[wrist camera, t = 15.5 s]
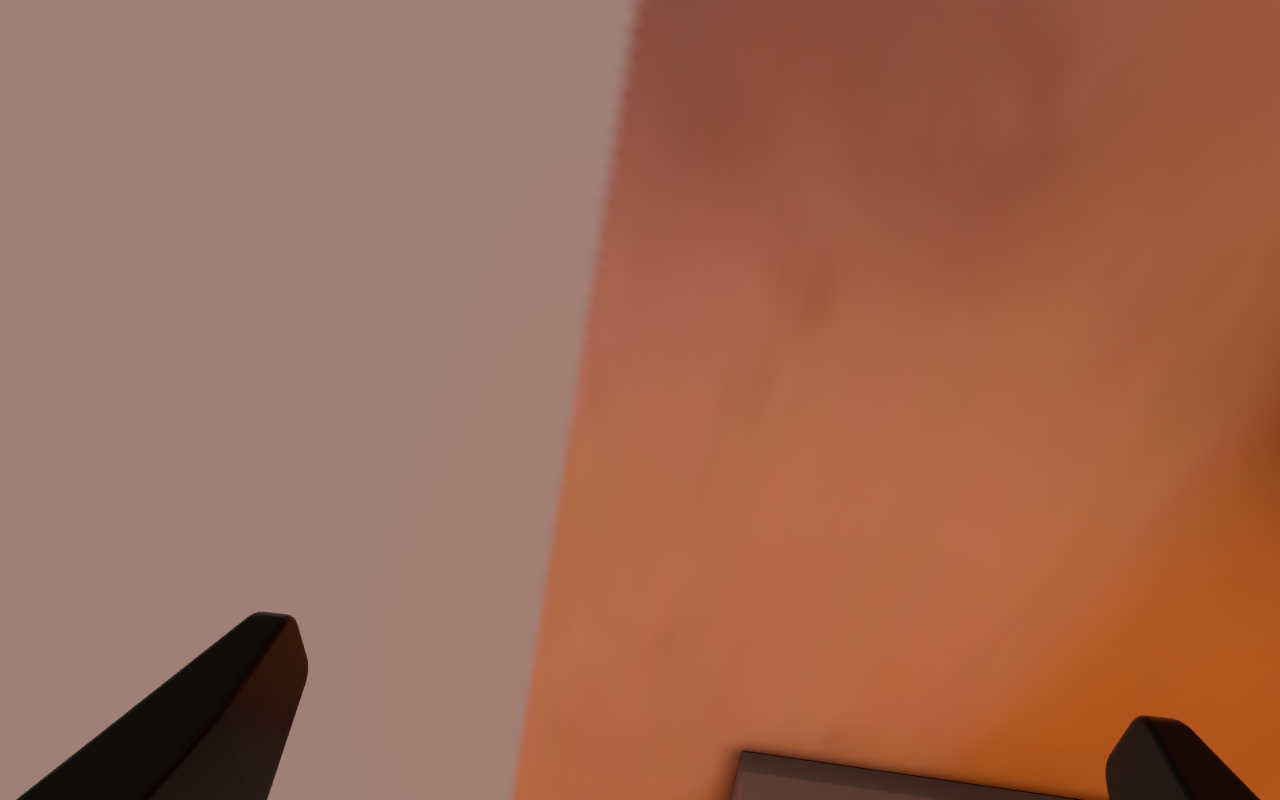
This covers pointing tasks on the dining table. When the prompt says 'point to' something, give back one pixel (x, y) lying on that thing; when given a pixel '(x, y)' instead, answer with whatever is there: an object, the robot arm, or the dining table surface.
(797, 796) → the tray
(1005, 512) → the dining table surface
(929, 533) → the dining table surface
